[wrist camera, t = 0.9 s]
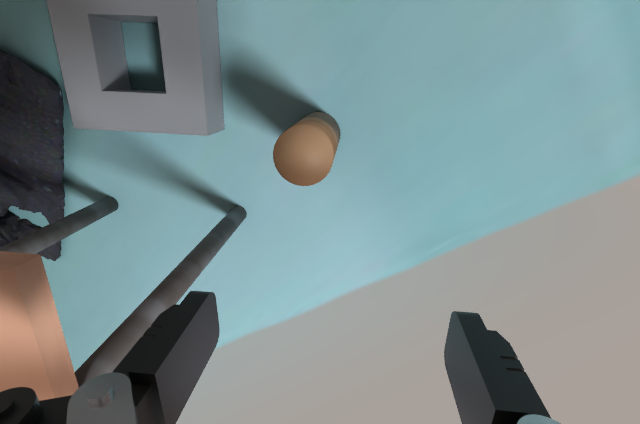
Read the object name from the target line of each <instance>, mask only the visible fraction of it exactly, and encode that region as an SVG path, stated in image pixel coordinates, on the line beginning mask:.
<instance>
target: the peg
mask: <svg viewBox="0 0 640 424" xmlns="http://www.w3.org/2000/svg"><path fill="white" fill-rule="evenodd" d="M339 140H340V129H339V126H338V124H337V122H336V121H335V119H334V118H333V117H331V116H330V115H328V114H326V113H323V112H314V113H311V114H309V115H307V116H305V117H304V118H303V119H301V120H300V121H299V122H297V123H296V124H294V125H293V126H292V127H290V128H289V129H287V130H286V131H285V132H283V133H282V134H281V135H280V136H279V138H278V139H277V141H276V143H275V146H274V150H273V159H274V163H275V166H276V168H277V170H278V172H279V173H280V175H281V176H282V177H283V178H284V179H286V180H287V181H289V182H290V183H293V184H295V185H300V186H309V185H313V184H316V183H318V182H320V181H321V180H322V179H324V178H325V177H326V176H327V174H328V173H329V171H330V169H331V167H332V164H333V160H334V157H335V153H336V150H337V147H338V143H339Z"/></svg>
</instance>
